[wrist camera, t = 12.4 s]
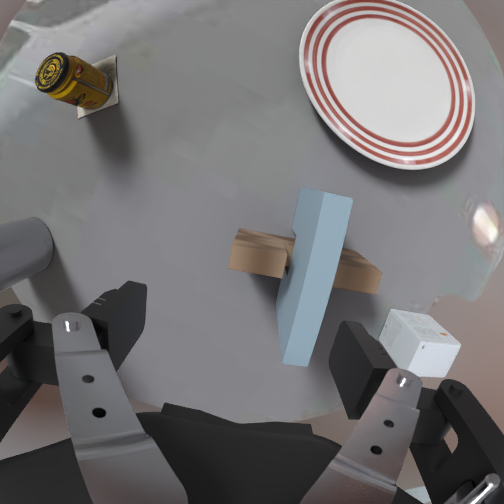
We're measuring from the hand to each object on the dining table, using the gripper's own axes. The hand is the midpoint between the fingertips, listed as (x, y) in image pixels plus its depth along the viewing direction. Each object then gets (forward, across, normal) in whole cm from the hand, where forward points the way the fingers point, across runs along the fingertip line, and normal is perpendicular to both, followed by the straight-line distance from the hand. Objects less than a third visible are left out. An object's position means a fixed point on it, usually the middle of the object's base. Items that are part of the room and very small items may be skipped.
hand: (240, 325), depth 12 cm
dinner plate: (+28, -16, -25) cm, 41 cm away
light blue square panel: (+28, -7, +2) cm, 29 cm away
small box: (+28, -27, +11) cm, 40 cm away
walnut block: (+28, -7, +2) cm, 29 cm away
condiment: (+29, +26, -17) cm, 43 cm away
